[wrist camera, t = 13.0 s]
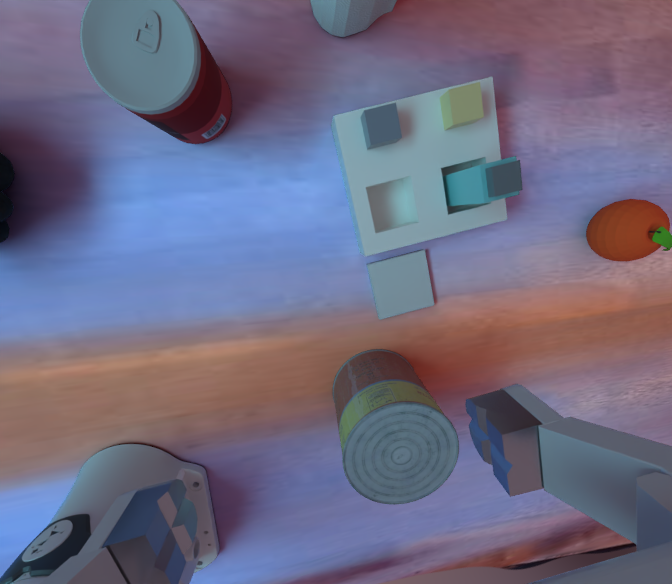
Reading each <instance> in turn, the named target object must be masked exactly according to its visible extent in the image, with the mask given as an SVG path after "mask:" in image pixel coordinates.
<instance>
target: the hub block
mask: <svg viewBox="0 0 672 584" xmlns="http://www.w3.org/2000/svg"><path fill="white" fill-rule="evenodd" d="M331 128H332V133H333V137H334V141H335V146H336V150H337V155H338V159H339V163H340V168H341V172H342V177H343V181H344V185H345V190H346V194H347V199H348V203H349V207H350V212H351V216H352V221H353V225H354V229H355V234H356V238H357V243H358V247H359V251H360V253H361V254H362V255H364V256H365V257H366V256H370V255H373V254H377V253H381V252H385V251H389V250H393V249H396V248H400V247H404V246H408V245H412V244H416V243H420V242H423V241H427V240H431V239H435V238H439V237H443V236H447V235H450V234H454V233H458V232H462V231H466V230H470V229H473V228H477V227H481V226H485V225H489V224H493V223H497V222H500V221H504V220H507V211H506V201H505V198H503V199H499V200H495V201H491V202H487V203H481V204H468V205H456V206H447V205H446V198H445V191H444V185H443V178H442V176H445V175H449V174H452V173H455V172H459V171H462V170H465V169H469V168H472V167H475V166H478V165H482V164H486V163H490V162H494V161H498V160H501V153H500V144H499V134H498V124H497V115H496V105H495V96H494V86H493V77H488V78H484V79H480V80H476V81H472V82H468V83H464V84H460V85H456V86H452V87H448V88H444V89H440V90H436V91H432V92H427V93H423V94H419V95H415V96H411V97H407V98H403V99H399V100H395V101H391V102H387V103H383V104H379V105H375V106H371V107H366V108H362V109H358V110H354V111H350V112H346V113H342V114H338V115H334V116H333V120H332V124H331Z"/></svg>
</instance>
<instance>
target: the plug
mask: <svg viewBox="0 0 672 584" xmlns="http://www.w3.org/2000/svg"><path fill="white" fill-rule="evenodd" d="M442 178H443V185H444V191H445V198H446V205H447V206H456V205H468V204H481V203H487V202H491V201H495V200H499V199H503V198H507V197H511V196H515V195H519V191H520V190H522V180H521V168H520V160H518V161H517V160H516V156H514V157H510V158H506V159H502V160H498V161H494V162H490V163H486V164H482V165H478V166H475V167H472V168H469V169H465V170H462V171H459V172H455V173H452V174H449V175H445V176H442Z"/></svg>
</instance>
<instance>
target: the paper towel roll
mask: <svg viewBox="0 0 672 584" xmlns="http://www.w3.org/2000/svg"><path fill="white" fill-rule="evenodd" d="M396 1H397V0H311V5H312V9H313V14H314V16H315V18H316V20H317V21H318V23H319V24H320V26H321V27H322V28H323V29H324V30H326V31H327V32H328V33H330V34H331V35H334V36H339V37H346V36H349V35H352V34H355V33H358V32H361V31H364V30H366V29H367V28H368V27H369V26H370V25H371V24H372V23H373V22H374V21H375V20H376V19H377V18H378V17H380V16H382V15H383V14H385V13H387V12H392V10H393V8H394V6H395V3H396Z"/></svg>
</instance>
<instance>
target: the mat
mask: <svg viewBox="0 0 672 584" xmlns="http://www.w3.org/2000/svg"><path fill="white" fill-rule="evenodd" d="M367 268H368V272H369V277H370V281H371V286H372V290H373V295H374V299H375V304H376V308H377V312H378V317H379V319H384V318H388V317H392V316H395V315H399V314H403V313H407V312H411V311H414V310H418V309H422V308H426V307H429V306H433V305H434V300H433V294H432V288H431V282H430V277H429V271H428V265H427V259H426V254H425V250H419V251H415V252H411V253H408V254H404V255H400V256H396V257H392V258H388V259H385V260H381V261H377V262H373V263H369V264H367Z"/></svg>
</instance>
